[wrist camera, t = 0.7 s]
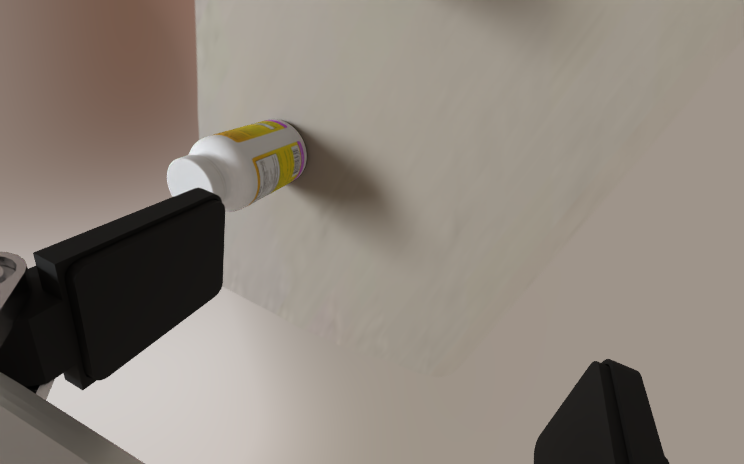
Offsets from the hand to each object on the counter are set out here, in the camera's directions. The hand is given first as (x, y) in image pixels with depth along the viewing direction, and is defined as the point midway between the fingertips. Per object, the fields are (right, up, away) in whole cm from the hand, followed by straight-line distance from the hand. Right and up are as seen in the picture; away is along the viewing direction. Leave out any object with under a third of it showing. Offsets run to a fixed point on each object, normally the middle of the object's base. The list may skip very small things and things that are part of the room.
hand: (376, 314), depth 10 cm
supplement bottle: (-10, +11, +32) cm, 35 cm away
